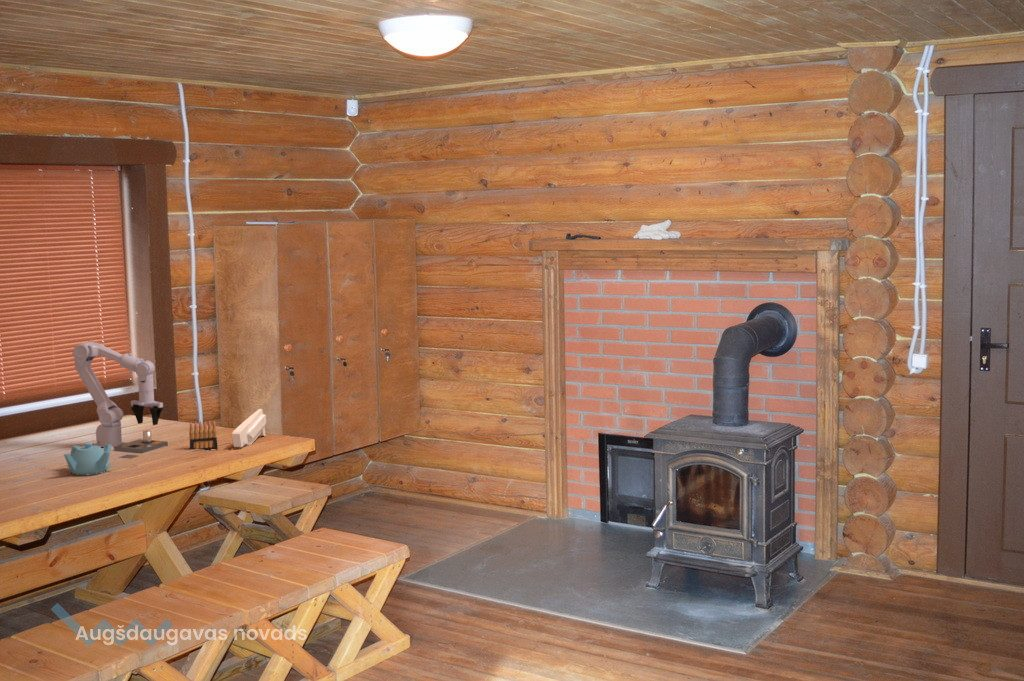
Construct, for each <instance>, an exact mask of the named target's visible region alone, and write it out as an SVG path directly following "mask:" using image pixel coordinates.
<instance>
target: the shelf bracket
mask: <svg viewBox="0 0 1024 681" xmlns="http://www.w3.org/2000/svg"><path fill="white" fill-rule="evenodd" d="M266 424H267V415H266V414H264V411H263V408H258V409H257V410H256V411H254V412H253V413H252V414H251V415H250V416H248V417H247V418H246V419H245V420H244V421H242V423H240V424H239V425H238V426H237V427H236V428H235V429H234V430H233V431H232V434H231V436H232V441H233V442H232V443H233V447H234V448H243V447H244V446H251V445H252V444H253V443H254V442H255V441H256V440H257V439H258V437H259V436H260V437H266V436H267V435H266V428H265V427H266V426H265V425H266ZM250 444H251V445H250Z"/></svg>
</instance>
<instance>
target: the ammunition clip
mask: <svg viewBox="0 0 1024 681" xmlns="http://www.w3.org/2000/svg"><path fill="white" fill-rule="evenodd" d="M211 423H212V424H211ZM216 425H217V424H216V421H215V420H212V422H211V421H210V420H208V424H207V422H206V420H204V422H203V423H202V421H199V424H198V423H197V421H194V426H193V422H192V421H190V423H189V450H192V451H193V450H209V451H212V450H211V449H218V437H217V433H218V432H217V427H216Z"/></svg>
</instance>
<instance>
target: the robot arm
mask: <svg viewBox="0 0 1024 681" xmlns="http://www.w3.org/2000/svg"><path fill="white" fill-rule="evenodd" d="M72 356H73V359H74V369H75V370H76V373H77V375H79V378H80V380H81V382H82V383H83V385H84V386H85V388H86V389H87V392H89V395H90V396H91V398H92V400H93V401H94V402H95V404H96V406H97V407H96V413H97V416H98V422H99V423H100V424H99V425H98V426H97V428H96V430H95V437H96V440H95V441H96V446H100V447H104V448H105V446H106V444H111V447H115V446H118V445H121V444H123V442H122V440H123V439H122V438H123V437H122V436H123V435H122V422H121V421H122V419H123V418H124V412H123V409H121V408H120V407H118V405H117V404H116V402H114V401H113V400H111V399H110V398H109V396H108V394H107V392H106V390H105V389H104V387H103V385H102V384H101V382H100V380H99V379H98V377H97V375H96V374H95V372H94V371H93V369H92V363H93V360H94V359H95V357H98V356H101V357H104V358H107V359H110V360H112V361H115V362H118V363H119V366H120V367H121V368H123V369H126V370H129V371H131V372H133V373H135V374H136V376H138V377H137V379H138V400H135V399H134V400H130V406H131V407H130V408H131V411H132V412H133V414H134V416H135V418H136V421H137V424H143V421H144V417H143V416H144V410H145V407H146V408H148V407H150V408H149V412H150V414H151V420H152V421H151V422H152V426H156V425H159V419H160V415H161V413H162V412H163V410H164V402H161V401H156V400H155V390H154V387H155V386H154V372H155V371H156V366H155V364H154V362H152V360H149V359H148V360H147V359H146V360H144V358H139V357H137V356H134V354H133V353H131V352H130V353H124V354H122V353H120V352H118V351H115V350H113V349H112V348H109V347H107V346H105V345H103V344H101V343H99V342H95V341H94V340H88V341H86V342H83V343H82V342H80V343H77V344H76V345H75V347H74V348H73V351H72ZM104 448H103V449H104Z"/></svg>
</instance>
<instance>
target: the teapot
mask: <svg viewBox="0 0 1024 681" xmlns="http://www.w3.org/2000/svg"><path fill="white" fill-rule="evenodd" d="M83 445H84V446H80V445H77V444H75V445H72V446H71V448H70V449H71V450H70V453H65V454H63V456H64V458H65V461H66V464H67V466H68V470H69V471H70V473H72V474H73V475H75V474H78V475H77V476H88V475H87V474H95V475H97V474H96V473H100V474H102V473H101V472H103V473H105V472H107V470H108V469H109V467H110V466H111V463H110V457H111V456H110V455H111V449H112V446H111V444H106V446H105V448H101V447H100V446H97V445H93V442H85V443H84V444H83ZM104 471H105V472H104Z"/></svg>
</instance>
